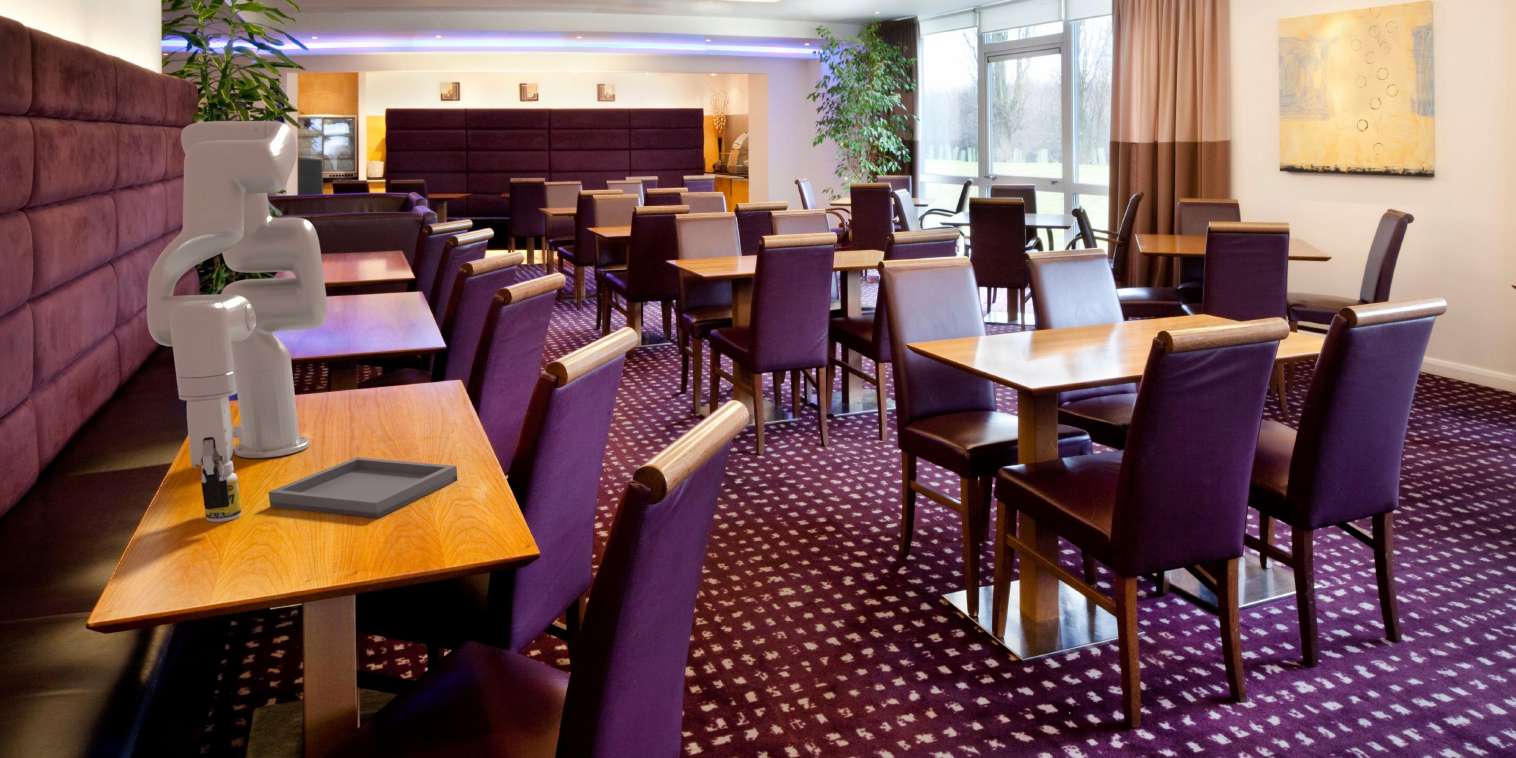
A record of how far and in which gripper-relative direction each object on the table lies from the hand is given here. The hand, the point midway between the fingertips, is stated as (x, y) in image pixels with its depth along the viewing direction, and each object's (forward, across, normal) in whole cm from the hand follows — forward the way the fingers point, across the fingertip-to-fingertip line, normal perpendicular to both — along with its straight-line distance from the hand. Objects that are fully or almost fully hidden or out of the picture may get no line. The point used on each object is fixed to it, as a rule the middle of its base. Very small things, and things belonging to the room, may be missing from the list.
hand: (221, 498), depth 157 cm
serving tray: (+3, -4, +20) cm, 21 cm away
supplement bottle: (+3, 0, 0) cm, 3 cm away
